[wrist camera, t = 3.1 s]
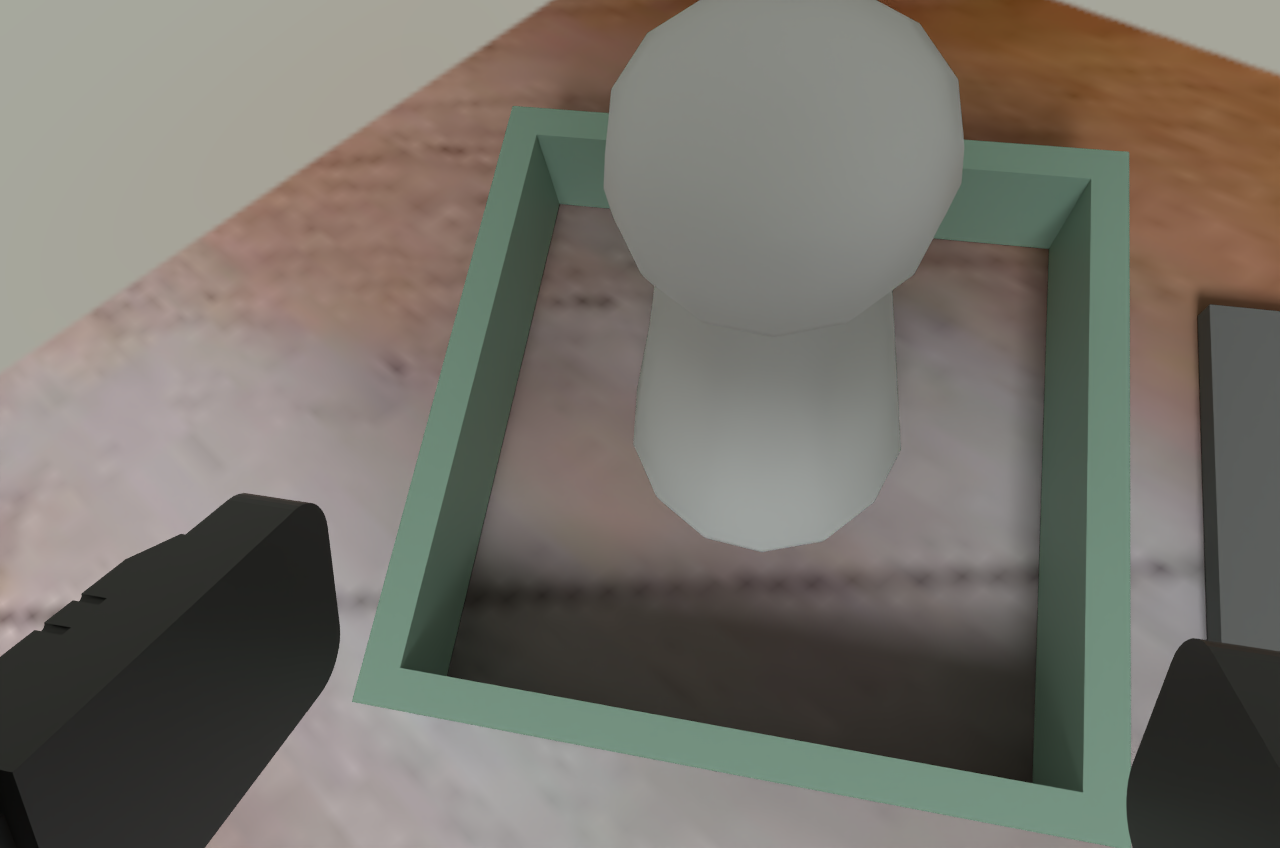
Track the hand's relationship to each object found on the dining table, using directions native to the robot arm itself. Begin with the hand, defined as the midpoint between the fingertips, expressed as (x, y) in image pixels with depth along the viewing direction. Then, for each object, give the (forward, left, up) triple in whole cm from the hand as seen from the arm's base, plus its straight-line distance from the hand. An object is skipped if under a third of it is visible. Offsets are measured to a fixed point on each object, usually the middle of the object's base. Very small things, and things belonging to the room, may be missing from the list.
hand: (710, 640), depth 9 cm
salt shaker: (0, -6, -12) cm, 14 cm away
